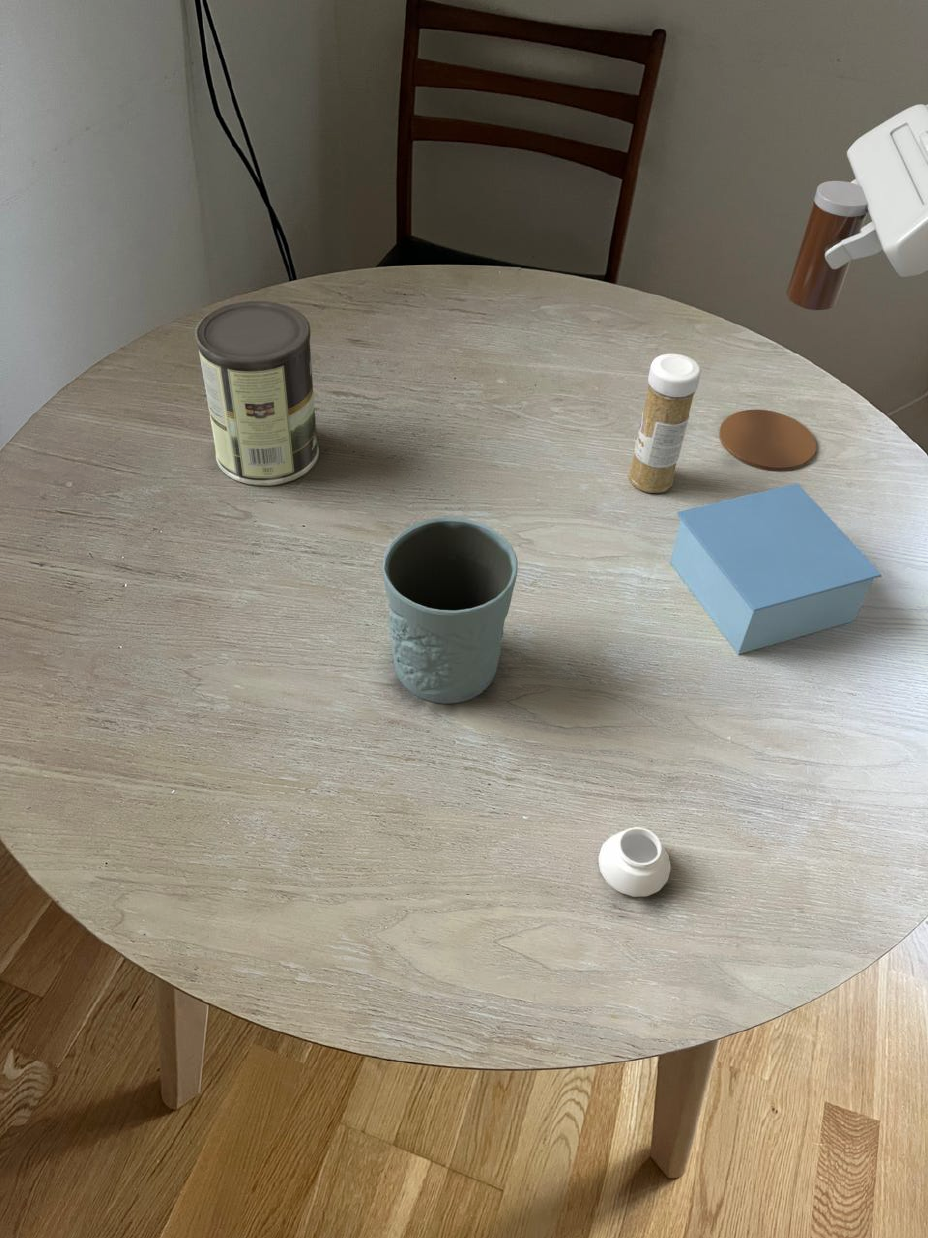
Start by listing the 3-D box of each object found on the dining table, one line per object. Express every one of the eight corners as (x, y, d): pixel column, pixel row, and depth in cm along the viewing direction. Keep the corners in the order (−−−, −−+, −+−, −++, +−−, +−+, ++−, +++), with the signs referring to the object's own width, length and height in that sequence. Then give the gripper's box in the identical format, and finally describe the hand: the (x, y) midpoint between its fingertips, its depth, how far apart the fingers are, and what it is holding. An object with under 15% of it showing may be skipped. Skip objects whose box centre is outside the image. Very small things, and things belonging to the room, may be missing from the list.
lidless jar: (593, 837, 76) (603, 900, 72) (599, 815, 73) (609, 879, 70) (661, 836, 76) (674, 898, 73) (668, 814, 74) (682, 877, 70)
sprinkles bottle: (626, 465, 105) (649, 349, 96) (671, 467, 106) (699, 352, 96) (629, 494, 102) (653, 378, 93) (675, 497, 102) (704, 381, 93)
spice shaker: (817, 280, 99) (851, 177, 92) (847, 306, 96) (885, 201, 89) (775, 288, 98) (806, 183, 91) (804, 314, 95) (838, 208, 88)
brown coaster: (780, 405, 114) (781, 402, 114) (834, 459, 108) (835, 456, 107) (701, 422, 111) (702, 419, 111) (751, 479, 105) (752, 475, 105)
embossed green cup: (490, 614, 90) (500, 510, 82) (519, 705, 84) (533, 601, 75) (375, 629, 89) (372, 524, 80) (395, 723, 82) (394, 619, 73)
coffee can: (288, 411, 109) (276, 288, 99) (337, 464, 103) (331, 340, 93) (197, 443, 105) (175, 318, 94) (243, 499, 99) (225, 373, 89)
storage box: (779, 531, 100) (797, 482, 95) (859, 622, 92) (882, 574, 87) (664, 560, 96) (677, 511, 92) (736, 658, 88) (754, 609, 84)
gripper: (932, 64, 91) (789, 166, 99) (992, 165, 77) (821, 275, 85) (962, 121, 95) (822, 215, 102) (1026, 228, 81) (858, 328, 88)
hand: (822, 243), depth 93 cm, fingers closed on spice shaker, 4 cm apart
